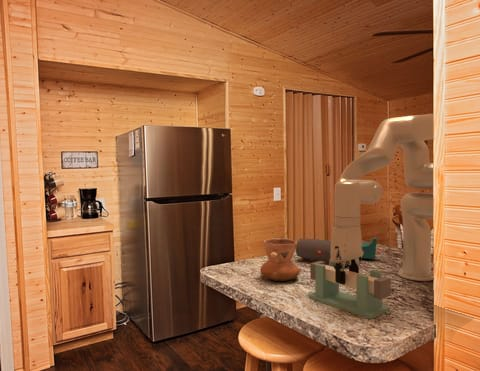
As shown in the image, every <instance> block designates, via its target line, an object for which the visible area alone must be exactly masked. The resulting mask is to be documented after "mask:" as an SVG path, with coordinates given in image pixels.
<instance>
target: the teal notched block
mask: <svg viewBox="0 0 480 371" xmlns="http://www.w3.org/2000/svg"><path fill="white" fill-rule="evenodd" d="M377 240H378V239H377V237H374V236H373V237H372V238H371V241H370V242H367V241H362V250H363V252H364V254H363V256H362V258H361V261H360V262H362V260H363V259H370V260H376V252H377V250H376V249H377ZM353 260H354V259H353Z"/></svg>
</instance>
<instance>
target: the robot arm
mask: <svg viewBox="0 0 480 371" xmlns="http://www.w3.org/2000/svg"><path fill="white" fill-rule="evenodd" d="M433 114H434V113H426V114H417V115H416V114H415V115H413V114H412V115H406V116H405V115H404V116H397V117H396V116H395V117H389V118H386V119H384V120H383V121H381V122H380V124H379V126H378V128H377V130H376V131H375V133H374V135H373V138H372V140H371V142H370V144H369V145H368V148H367V149H366V151H365V152H363V153H361V154H360V155H359V156H357V157H356V158H355V159H354V160H353V161H351V162H350V163H349V164H347V166H345V168H344V170H343V171H342V173H341V175H340V177H339V180H338V181H337V182H336V183H335V184H334V192H333V193H334V202H333V203H334V208H333V209H334V215H333V216H334V226H333V228H332V232H331V239H330V241H331V252H330V255H331V258H330V262H331V264H332V265H333V267H334V269H335V282H336V283H340V284H339V285H341V284H343V285H342V286H344V284H345V271H344V270H345V267H346V264H345V263H346V261H350V264H348V271H352V272H356V273H360V268H359V267H360V266H361V263H360V262H362V261H361V258H362V256H363V254H364V252H363V250H362V242H363V238H362V229H361V206H362V205H374V204H376V203H378V202H380V200H381V199H382V197H383V194H384V192H383V191H384V190H383V187H382V185H381V184H380V183H379V182H378V181H376V180H373V179H361V178H362V177H364V176H365V175H367V174H369V173H372V172H375V171H377V170H379V169H383V168H384V167H387V166H389V165H390V164H391V163H392V161H393V159H394V157H395V155H396V153H397V151H398V148H399V147H400V148H401V149H402V154H403V176H404V178H403V179H404V183H405V185H406V187H407V188H409V189H415V190H432V191H434V190H433V163H434V162H431V161H430V150H429V146H428V145H427V143H426V142H425V141H430V140H433ZM433 193H434V192H420V191H419V192H415V191H413V192H408V193H406V194H404V195H403V196H402V197H401V199H400V211H401V216H402V229H403V230H402V268H401V269H399V270H398V276H399V277H401V278H403V279H406V280H411V281H418V282H419V281H420V282H421V281H422V282H429V281H430V282H431V281H433V273H434V272H432V268H434V267H433V264H434V263H433V262H432V230H431V229H432V228H431V226H430V224H429V223H428V221H427V220H433ZM340 258H341V260H340ZM353 259H354V260H353ZM362 259H363V258H362ZM339 262H342V263H341V264H339Z"/></svg>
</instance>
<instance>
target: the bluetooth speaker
mask: <svg viewBox="0 0 480 371" xmlns="http://www.w3.org/2000/svg"><path fill="white" fill-rule="evenodd" d="M296 242H297V244H296V248H295V253H296V256H297V257H298V258H299V257H300V258H303V259H307V260H310V261H311V263H314V262H318V261H323V262H325V265H328V266H329V261H330V258H331V255H330V252H331V240H327V239H318V238H317V239H315V238H299V239H297V241H296ZM340 260H341V258H340ZM341 263H342V262H339V264H340V265H341ZM345 265H351V264H350V261H346V263H345Z"/></svg>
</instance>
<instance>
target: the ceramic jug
mask: <svg viewBox="0 0 480 371" xmlns="http://www.w3.org/2000/svg"><path fill="white" fill-rule="evenodd" d="M297 242H298V241H296V240H294V239H290V238H283V237H282V238H278V237H276V238H275V237H274V238H267V239H264V240H263V246H264V250H265V253H266V254H265V255H266V257H267V258H268V260H267V261H265V262H264V263H263V264H262V265H261V267H260V274H261V275H262V276H263V277H264V278H265V279H268V280H271V281H273V282H274V281H275V282H286V281H292V280H294V279H296V278H297V277H298V276H299V273H300V268H299V267H298V265H296V264H295V263H294V262H293V261H292V259H293V256H294V254H295V252H296V246H297Z"/></svg>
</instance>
